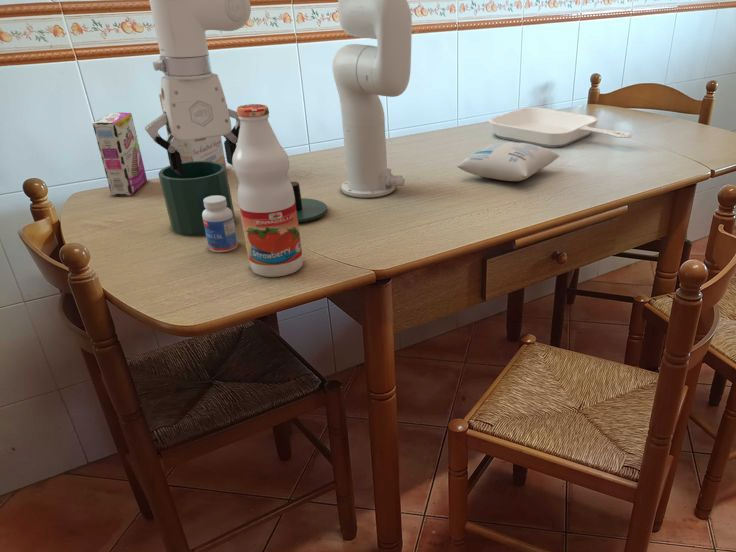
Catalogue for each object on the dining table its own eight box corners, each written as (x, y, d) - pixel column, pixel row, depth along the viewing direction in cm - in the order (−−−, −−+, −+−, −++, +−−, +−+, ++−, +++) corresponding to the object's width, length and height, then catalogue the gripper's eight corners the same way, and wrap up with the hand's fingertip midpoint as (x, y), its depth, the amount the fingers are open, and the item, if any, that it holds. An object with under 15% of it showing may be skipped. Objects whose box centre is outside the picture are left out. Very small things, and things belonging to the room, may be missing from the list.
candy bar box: (133, 196, 152) (114, 123, 143) (111, 196, 152) (90, 123, 143) (149, 181, 162) (132, 111, 153) (128, 181, 161) (109, 111, 152)
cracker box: (199, 186, 158) (180, 94, 147) (177, 184, 159) (156, 93, 148) (229, 169, 170) (213, 83, 159) (207, 168, 171) (190, 82, 160)
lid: (336, 205, 148) (333, 176, 144) (312, 228, 137) (308, 196, 133) (280, 201, 150) (275, 172, 147) (251, 222, 139) (246, 191, 135)
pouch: (495, 131, 174) (456, 145, 159) (561, 143, 167) (528, 159, 152) (493, 161, 179) (455, 178, 163) (558, 174, 171) (524, 193, 156)
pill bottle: (202, 250, 126) (192, 201, 121) (221, 240, 131) (211, 192, 125) (226, 255, 125) (216, 205, 120) (244, 244, 129) (235, 196, 124)
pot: (245, 216, 142) (236, 163, 136) (215, 238, 131) (204, 181, 125) (193, 212, 144) (181, 159, 138) (159, 233, 134) (145, 177, 127)
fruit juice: (297, 253, 126) (276, 98, 111) (308, 272, 118) (287, 110, 104) (246, 261, 122) (217, 103, 108) (255, 282, 115) (225, 115, 100)
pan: (527, 120, 218) (528, 105, 216) (648, 140, 197) (650, 125, 195) (481, 136, 200) (481, 121, 197) (609, 161, 179) (611, 144, 176)
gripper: (139, 74, 103) (163, 182, 112) (245, 65, 113) (260, 166, 121) (126, 68, 108) (150, 171, 117) (229, 60, 118) (244, 156, 126)
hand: (206, 168), depth 119 cm, fingers open, 9 cm apart
